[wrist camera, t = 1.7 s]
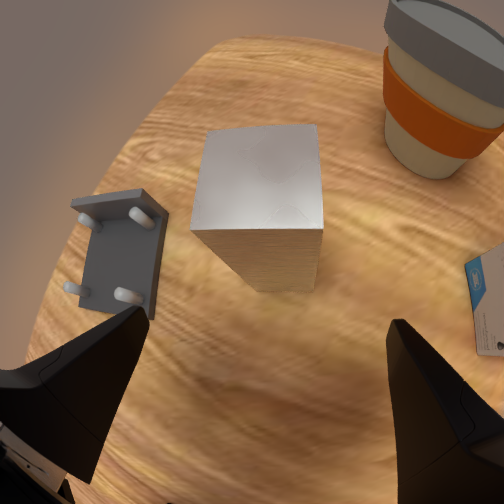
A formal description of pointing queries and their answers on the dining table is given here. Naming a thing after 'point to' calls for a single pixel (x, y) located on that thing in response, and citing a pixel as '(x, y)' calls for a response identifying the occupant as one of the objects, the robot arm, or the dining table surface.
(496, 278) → the ink box
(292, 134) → the silver tall square block
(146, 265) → the drive dock
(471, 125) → the reusable coffee cup
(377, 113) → the dining table surface
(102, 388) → the robot arm
